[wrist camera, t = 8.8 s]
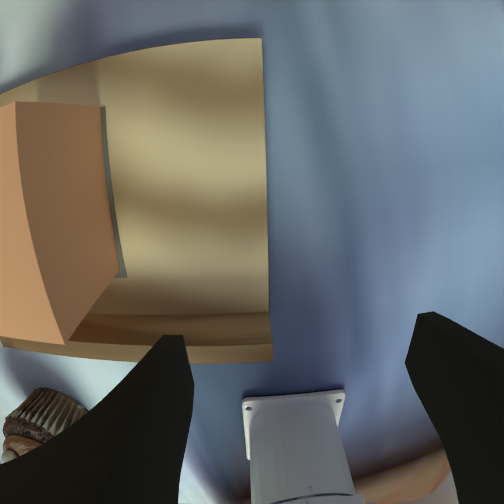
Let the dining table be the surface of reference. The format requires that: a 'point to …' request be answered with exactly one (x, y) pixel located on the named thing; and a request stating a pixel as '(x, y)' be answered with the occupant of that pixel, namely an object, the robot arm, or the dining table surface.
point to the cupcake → (38, 421)
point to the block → (52, 219)
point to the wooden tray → (176, 200)
